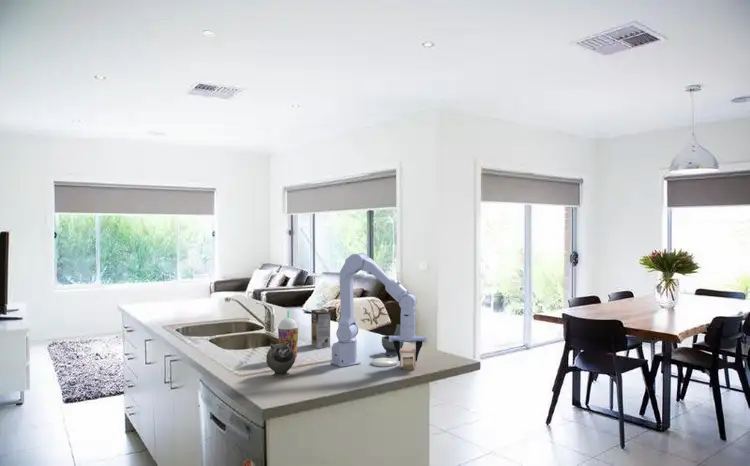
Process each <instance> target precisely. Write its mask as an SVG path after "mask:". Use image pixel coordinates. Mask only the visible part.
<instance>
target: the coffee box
mask: <svg viewBox="0 0 750 466" xmlns="http://www.w3.org/2000/svg"><path fill="white" fill-rule="evenodd" d="M310 311H311V313H310V315H311V316H310V317H311V319H310V320H311V327H310V328H311V331H310V332H311V345H312V346H313V347H315V348H316V349H324V348H323V347H328V348H331V311H328V310H327V309H311V310H310Z"/></svg>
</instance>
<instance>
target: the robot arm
mask: <svg viewBox="0 0 750 466" xmlns="http://www.w3.org/2000/svg"><path fill="white" fill-rule="evenodd" d="M360 271H362V272H368V273H370V274H371V275H372V276H374V277H375V278H376V279H377V280H378V281H379V282H380V283H382V284H383V285H384V287H385V291H386V293H388V295H390V296H391V297H392V298H393V299H394V300H395V301H396V302H398V305H399V308H400V325H401V327H400V336H392V335H388V336H389V342H393V344H394V347H395V349H396V352H397V355H396V356H397V361H398V362H400V342H404V343H415V352H416V362H418V357H419V354H420V351H421V348H422V347H423V343H427V341H428V337H427V335H426V336H424V335H422V336H421V335H416V305H417V303H418V301H417V300H418V299H417V297H416V296H415V294H414V293H412V292H411V291H410V290H409V289H406V288H405V287H404V286H403V285H402V282H401V281H400V280H397V279H391V278H390V277H389V276H388V274H387V273H385V271H384V270H382V268H380V266H379V265H378V264H377V263H376V262H375V261H374V259H372V258H371V257H369V256H368V255H367V254H366V253H364V252H360V253H352V254H351V255H349V256H348V257H347V258H346V259H345V262H344V263H343V266H342V268H341V269H340V270H339V292H340V293H339V297H340V299H339V302H340V318H339V320H338V325H337V326H338V327H337V329H336V334H335V335H336V338H337V342H334V343H333V344H332V346H331V361H330V364H333V365H336V366H338V367H341V368H343V367H349V366H354V365H358V364H361V363H362V362H361V361H359V360H357V359H358V358H357V357H358V356H357V351H358V350H357V335H358V334H359V327H358V325H357V320H356V318H355V311H354V309H355V307H354V304H355V303H354V276H355V275H357V273H359V272H360Z"/></svg>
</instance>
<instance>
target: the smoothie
mask: <svg viewBox="0 0 750 466" xmlns="http://www.w3.org/2000/svg"><path fill="white" fill-rule="evenodd" d="M286 313H287V314H286V315H287V317H285V318H284V319H282V320H281V321H280V322H279V324H278V326H277V331H278V344H287V343H288V342H291V346H290V347H291V348H292V349H293V351H294V354H295V359H296V358H297V356H298V355H297V354H298V343H299V342H298V337H299V327H300V326H299V325H298V323H297V321H296V320H295V319H294V318H291V317H290V311H287V312H286Z"/></svg>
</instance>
